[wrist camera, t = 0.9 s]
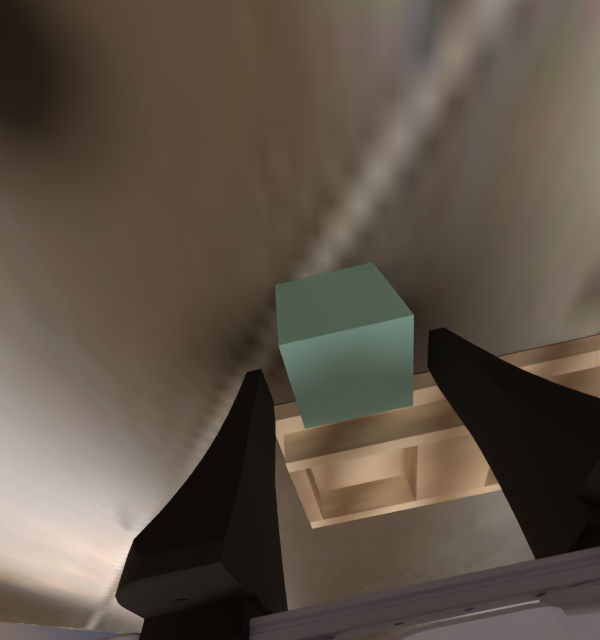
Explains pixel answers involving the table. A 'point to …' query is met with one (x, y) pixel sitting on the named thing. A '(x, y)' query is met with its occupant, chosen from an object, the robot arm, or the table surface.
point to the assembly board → (409, 445)
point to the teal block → (345, 344)
